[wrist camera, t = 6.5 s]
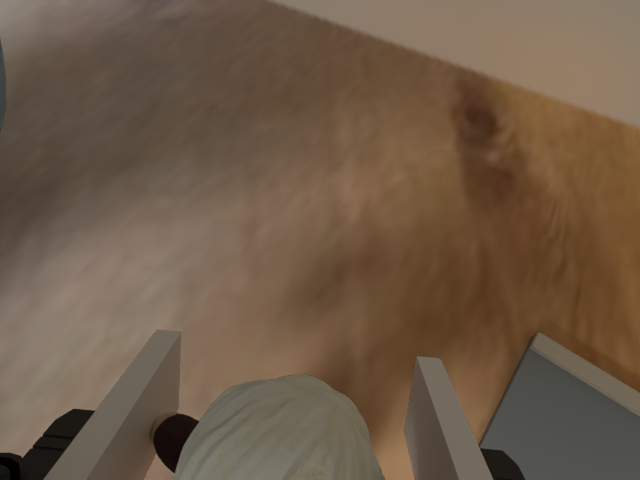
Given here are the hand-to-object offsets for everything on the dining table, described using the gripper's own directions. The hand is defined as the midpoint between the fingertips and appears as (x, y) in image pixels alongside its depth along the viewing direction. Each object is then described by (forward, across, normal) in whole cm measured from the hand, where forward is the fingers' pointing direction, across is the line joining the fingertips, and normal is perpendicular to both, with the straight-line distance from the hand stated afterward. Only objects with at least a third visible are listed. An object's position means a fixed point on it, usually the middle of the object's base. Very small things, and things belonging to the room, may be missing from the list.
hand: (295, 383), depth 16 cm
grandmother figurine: (+1, 0, -6) cm, 6 cm away
